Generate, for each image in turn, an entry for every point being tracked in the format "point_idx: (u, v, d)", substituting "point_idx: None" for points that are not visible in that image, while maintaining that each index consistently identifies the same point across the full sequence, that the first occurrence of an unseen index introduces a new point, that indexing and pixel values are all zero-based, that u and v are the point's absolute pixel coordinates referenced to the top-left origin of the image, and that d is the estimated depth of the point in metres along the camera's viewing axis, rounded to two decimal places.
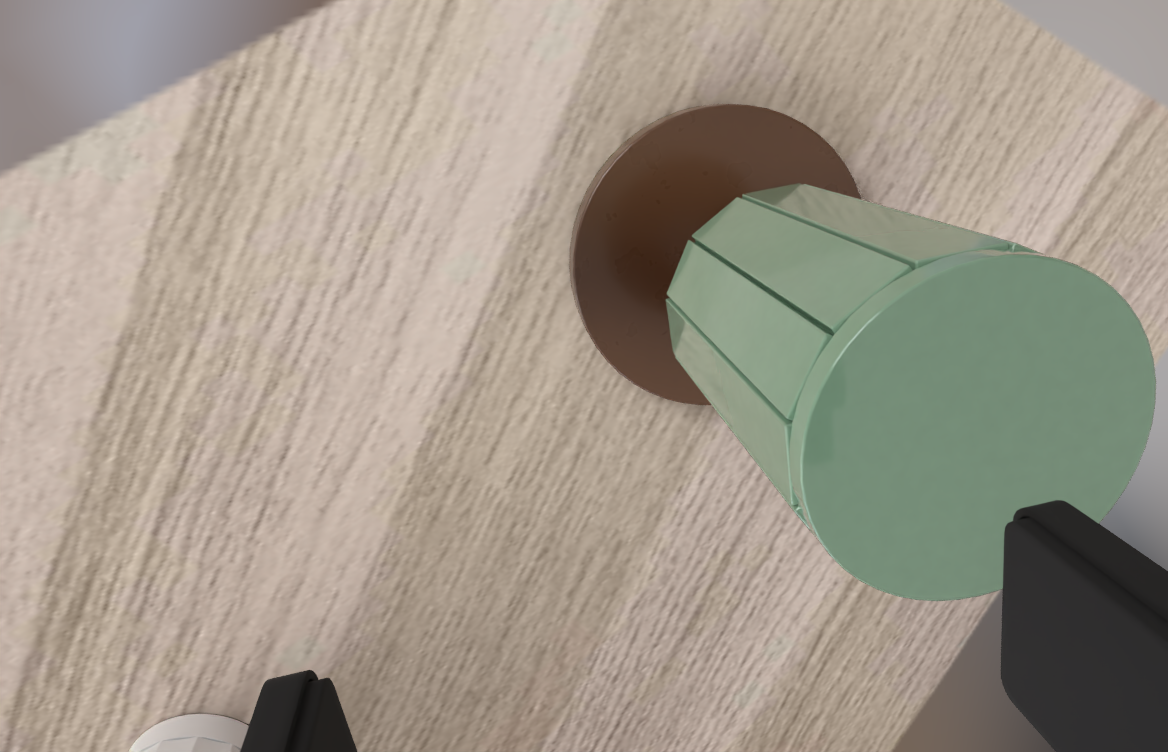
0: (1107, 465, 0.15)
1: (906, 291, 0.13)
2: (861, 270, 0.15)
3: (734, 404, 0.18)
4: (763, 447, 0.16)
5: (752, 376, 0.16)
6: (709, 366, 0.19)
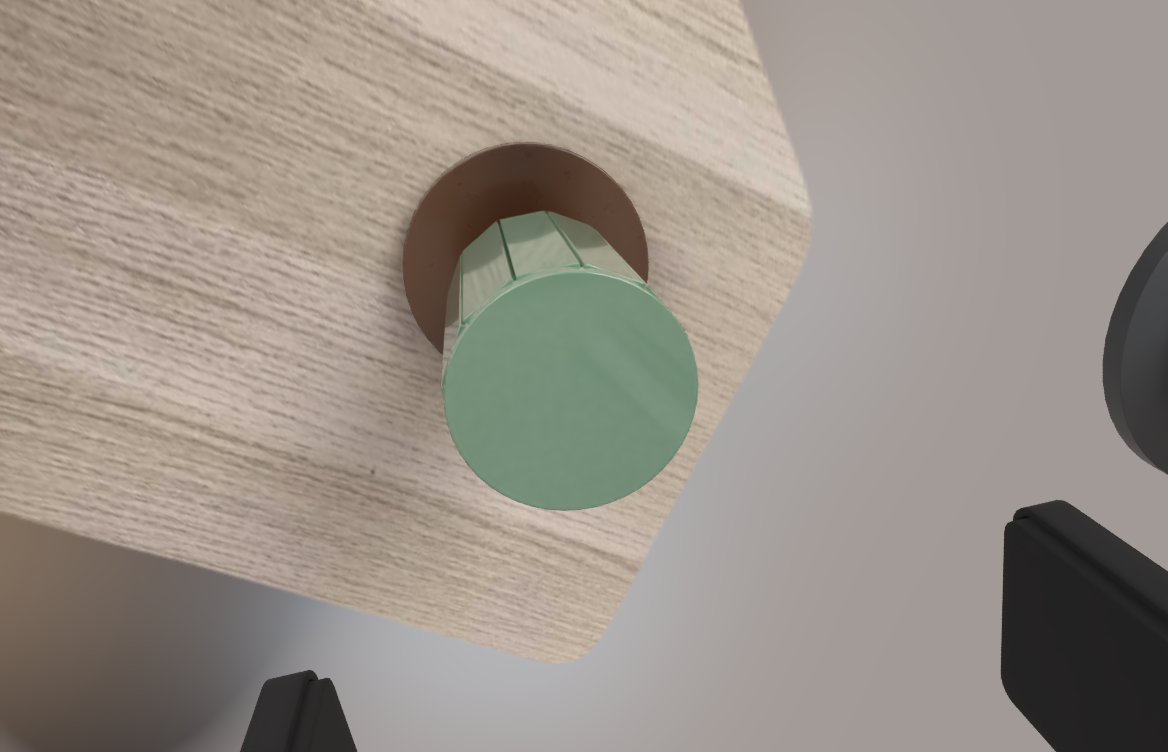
0: (551, 488, 0.22)
1: (681, 325, 0.21)
2: None
3: (536, 246, 0.24)
4: (534, 260, 0.22)
5: (578, 249, 0.22)
6: (538, 233, 0.25)
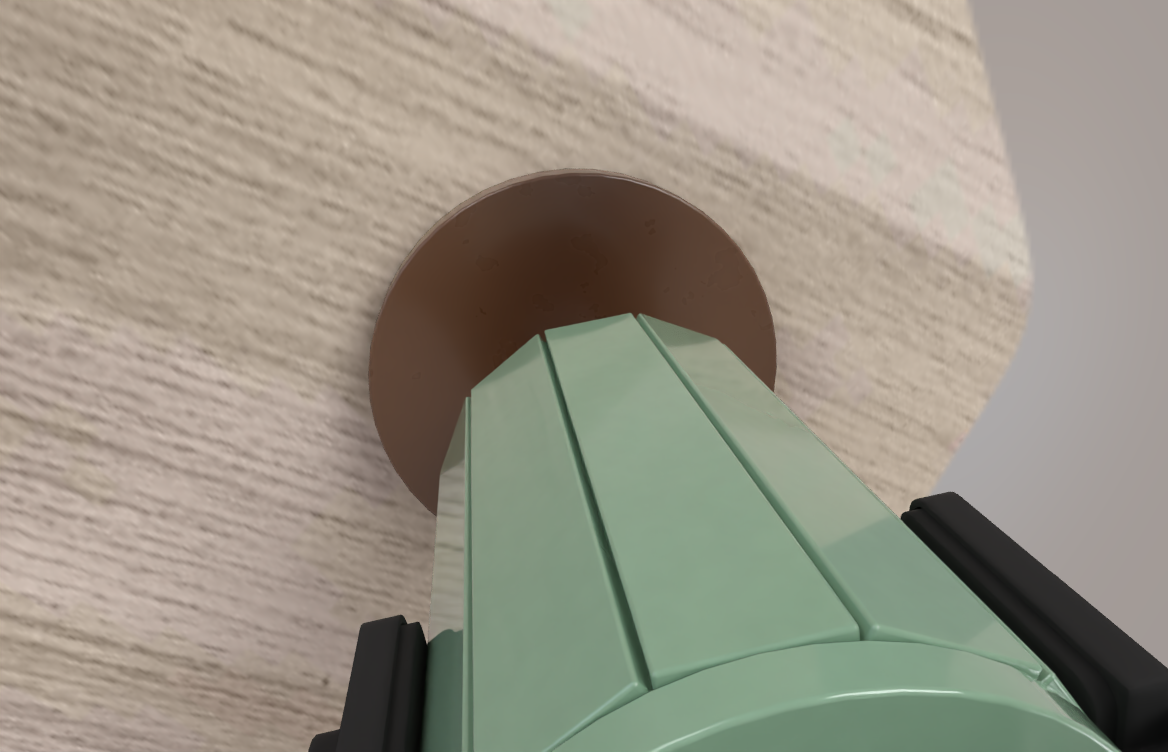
0: None
1: None
2: None
3: (660, 467, 0.09)
4: (683, 559, 0.07)
5: (794, 506, 0.08)
6: (648, 403, 0.11)
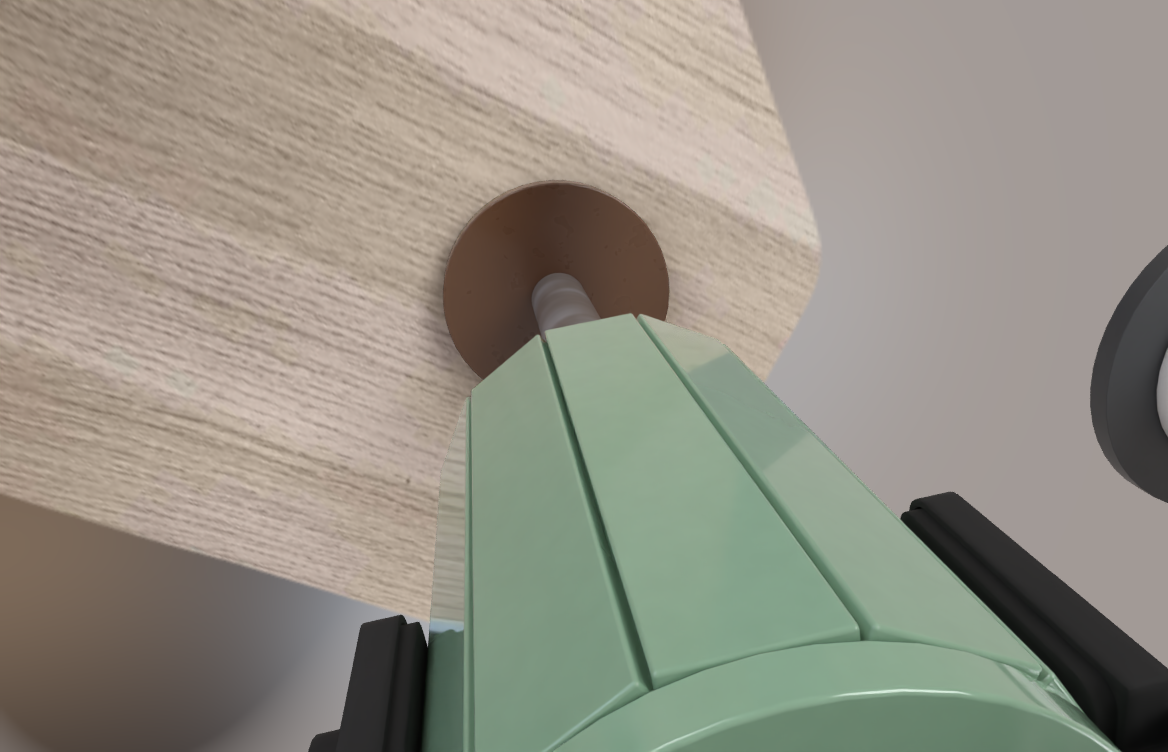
0: None
1: None
2: None
3: (661, 468, 0.09)
4: (683, 560, 0.07)
5: (794, 507, 0.08)
6: (648, 403, 0.11)
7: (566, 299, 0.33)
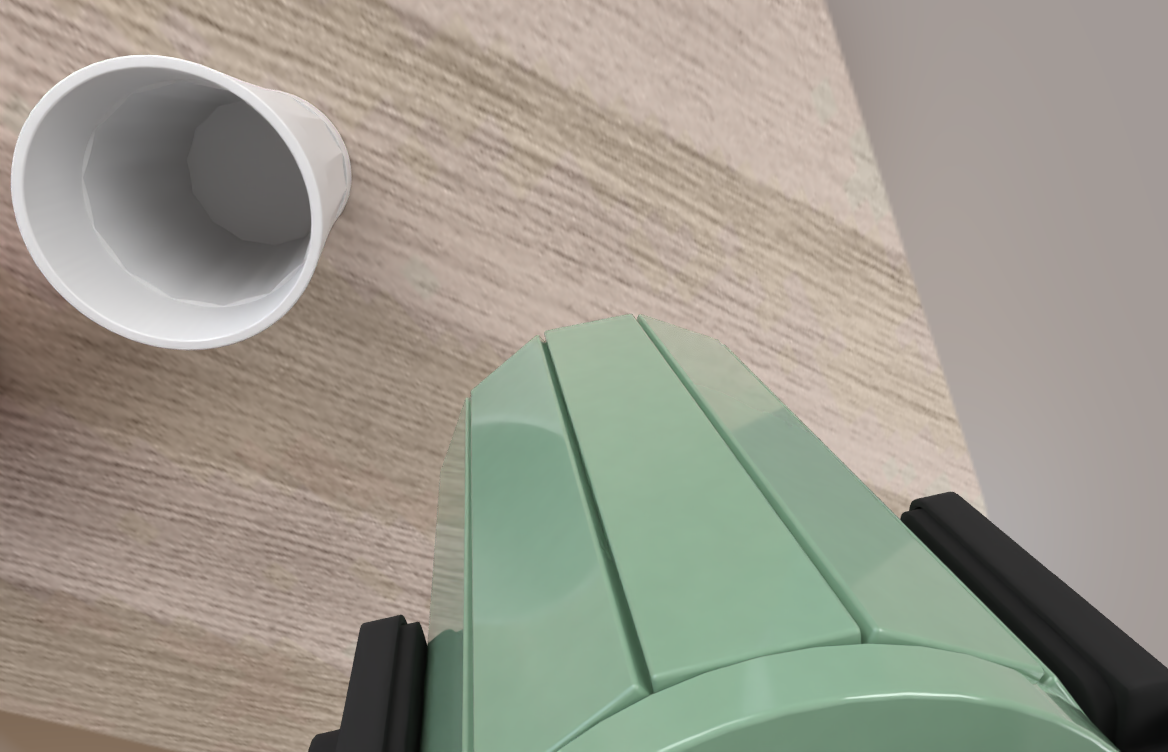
0: None
1: None
2: None
3: (661, 469, 0.09)
4: (684, 561, 0.07)
5: (795, 508, 0.08)
6: (648, 404, 0.11)
7: None
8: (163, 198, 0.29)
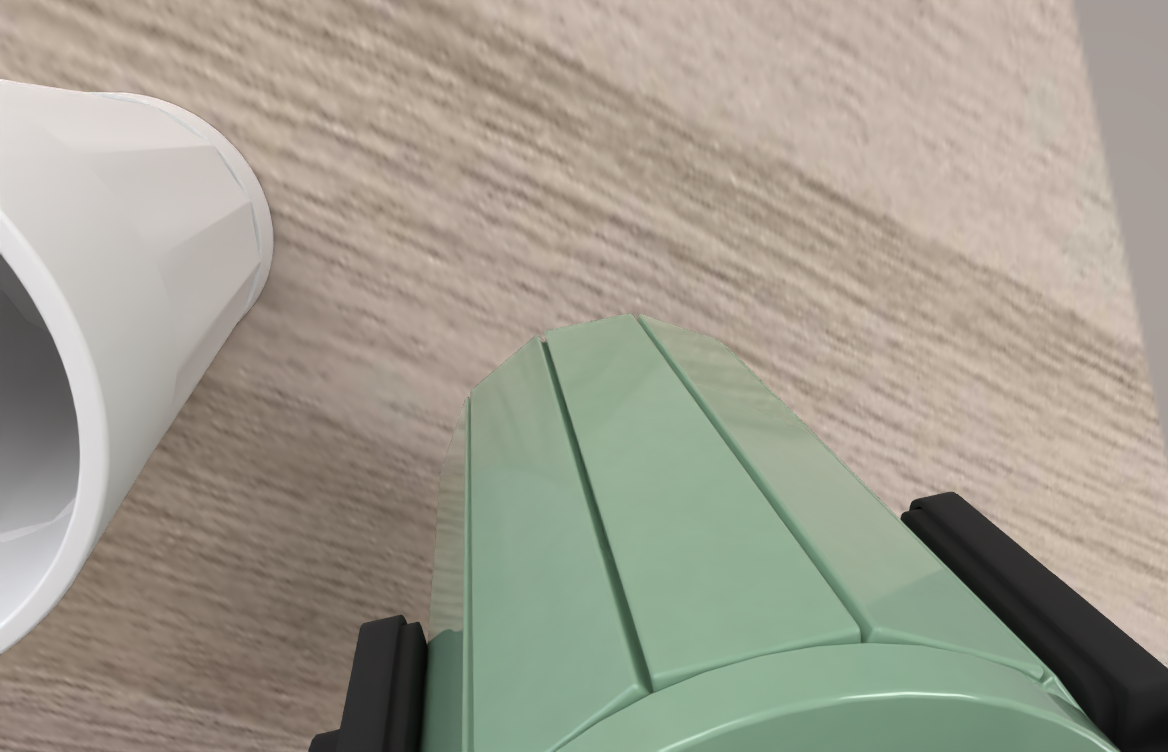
0: None
1: None
2: None
3: (661, 468, 0.09)
4: (683, 560, 0.07)
5: (795, 507, 0.08)
6: (648, 403, 0.11)
7: None
8: None
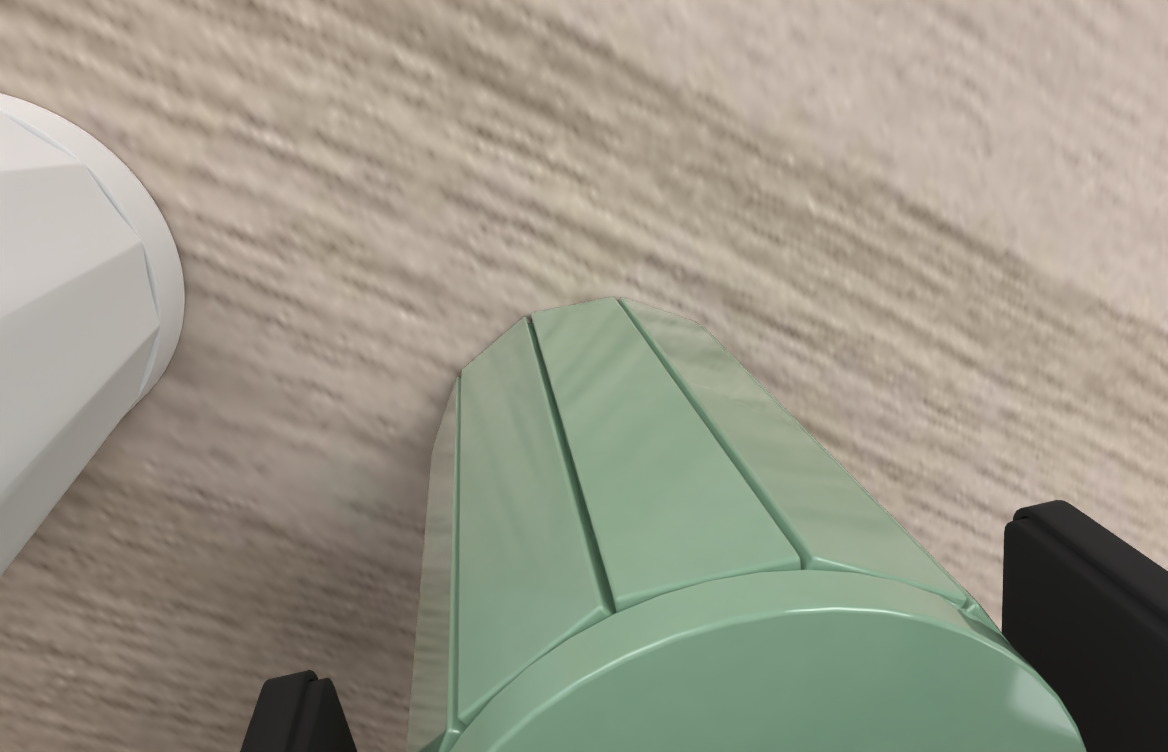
0: None
1: None
2: None
3: (633, 430, 0.10)
4: (648, 506, 0.08)
5: (752, 461, 0.09)
6: (624, 375, 0.12)
7: None
8: None
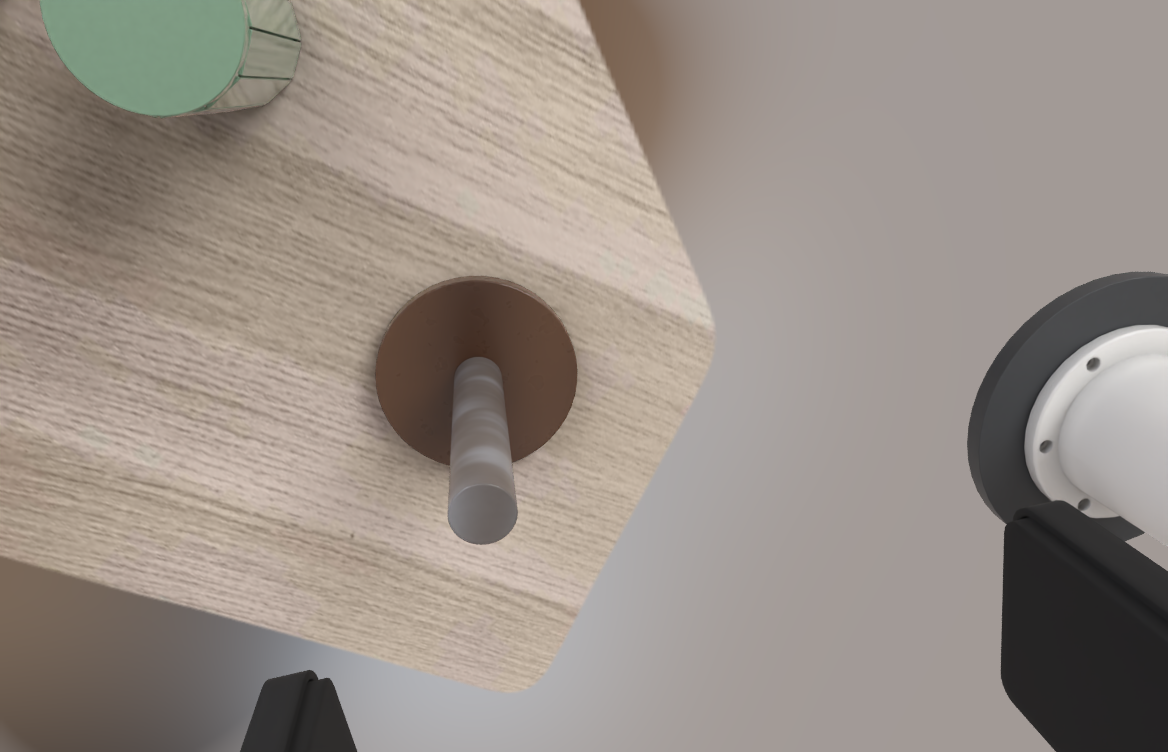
0: (139, 95, 0.29)
1: None
2: None
3: None
4: None
5: None
6: None
7: (474, 390, 0.39)
8: None
